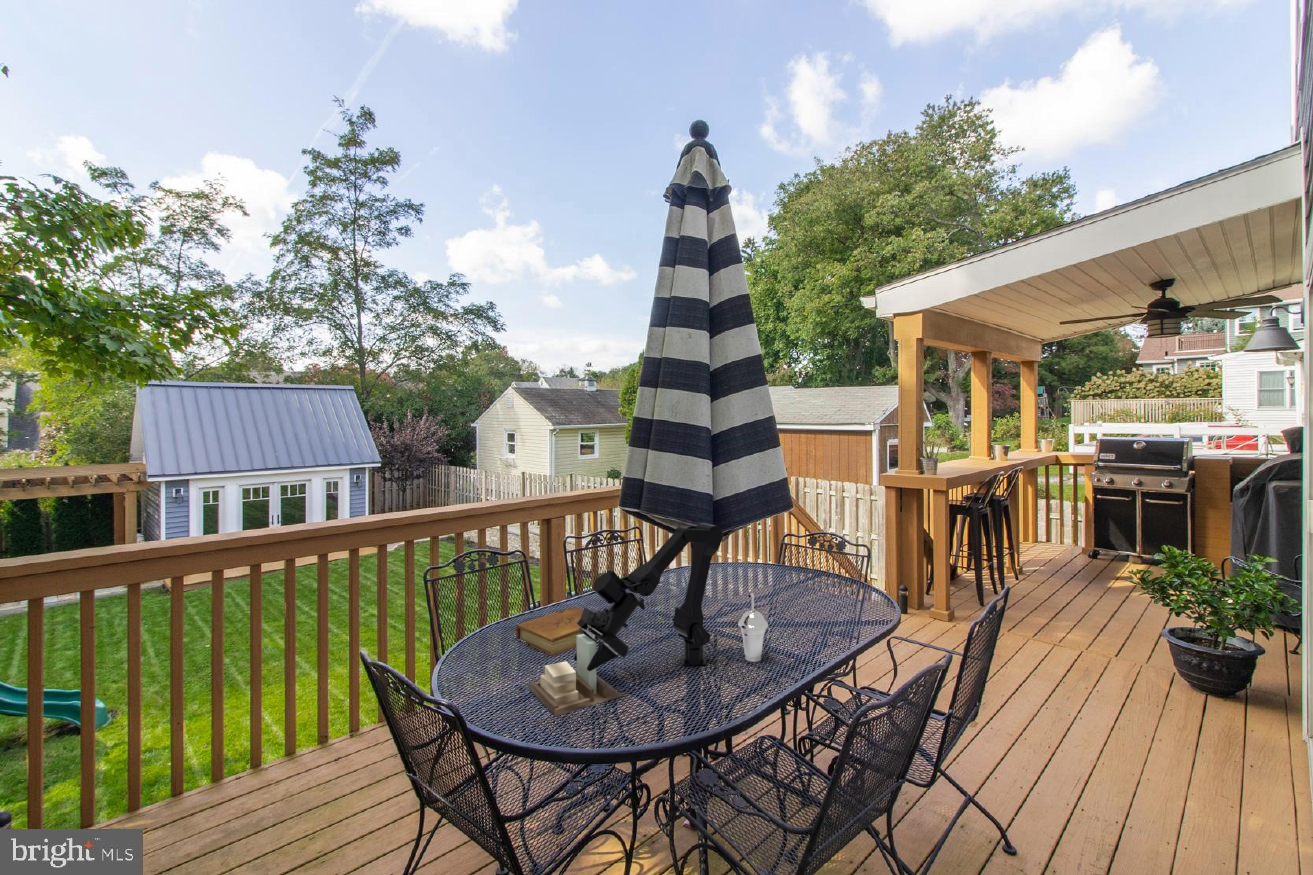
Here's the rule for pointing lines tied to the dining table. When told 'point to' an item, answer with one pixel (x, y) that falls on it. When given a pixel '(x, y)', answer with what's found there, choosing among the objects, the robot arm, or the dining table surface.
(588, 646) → the sage panel
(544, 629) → the diary
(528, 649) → the dining table surface
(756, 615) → the cup with straw
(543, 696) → the tray
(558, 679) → the offcut stack
